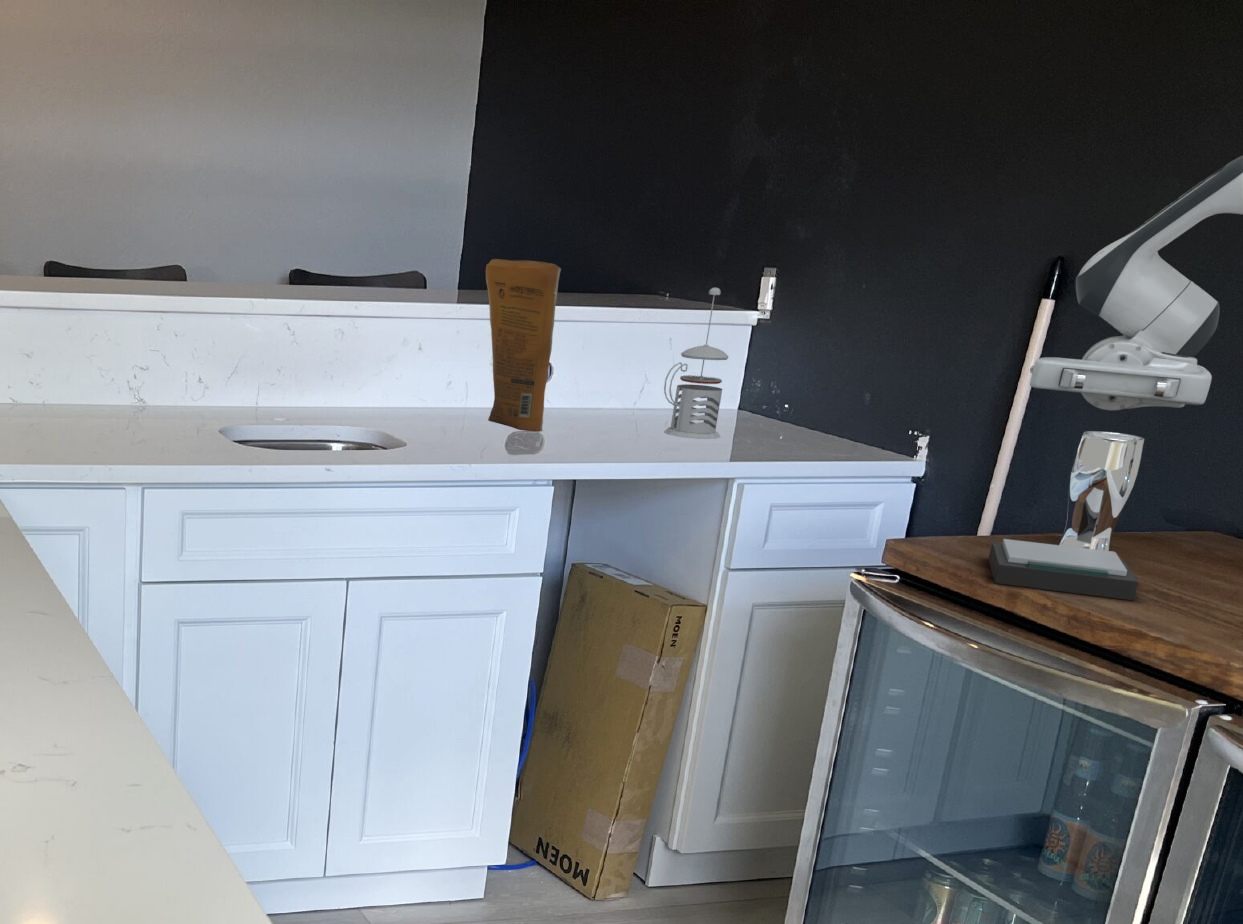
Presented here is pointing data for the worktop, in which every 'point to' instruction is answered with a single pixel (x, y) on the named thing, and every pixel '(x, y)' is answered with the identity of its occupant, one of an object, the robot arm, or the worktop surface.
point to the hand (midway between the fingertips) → (1119, 385)
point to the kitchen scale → (1062, 569)
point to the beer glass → (1100, 487)
